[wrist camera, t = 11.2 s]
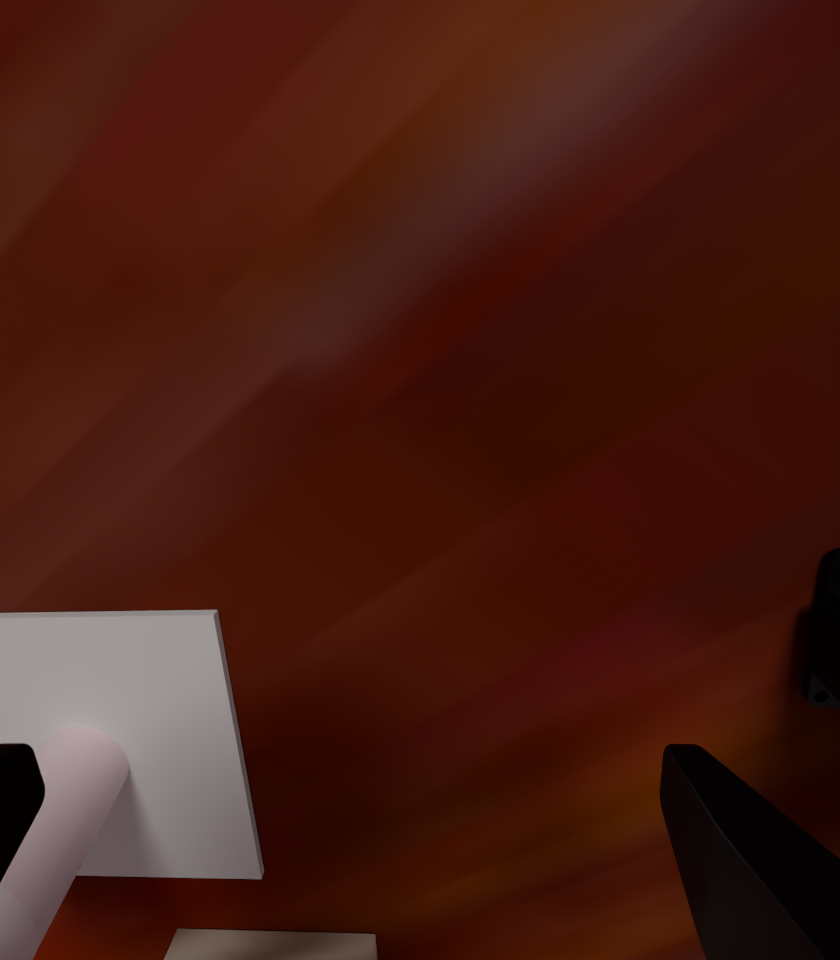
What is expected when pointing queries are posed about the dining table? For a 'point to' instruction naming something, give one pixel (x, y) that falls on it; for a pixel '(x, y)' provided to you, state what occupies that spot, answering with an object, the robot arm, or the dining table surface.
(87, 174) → the dining table surface
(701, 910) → the robot arm
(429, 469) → the dining table surface
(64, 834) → the smoothie
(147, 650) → the mat
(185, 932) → the holder
